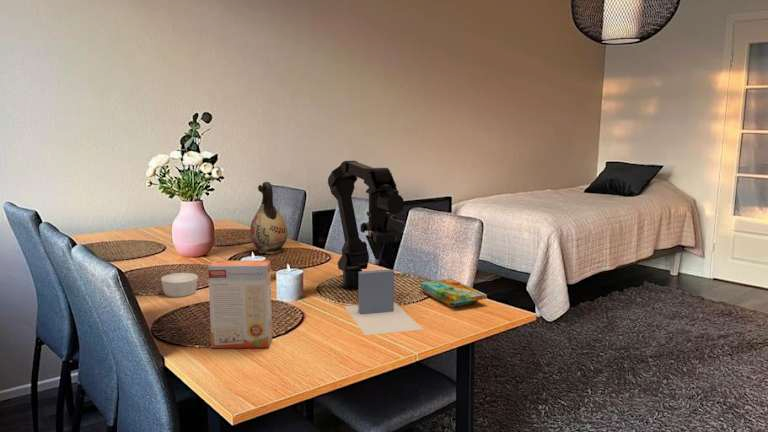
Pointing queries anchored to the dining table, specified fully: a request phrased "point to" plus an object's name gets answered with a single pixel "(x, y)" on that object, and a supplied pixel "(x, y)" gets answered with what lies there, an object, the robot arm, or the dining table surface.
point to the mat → (383, 321)
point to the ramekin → (179, 284)
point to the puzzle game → (451, 292)
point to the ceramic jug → (268, 224)
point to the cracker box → (240, 304)
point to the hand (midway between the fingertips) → (377, 259)
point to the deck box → (376, 291)
